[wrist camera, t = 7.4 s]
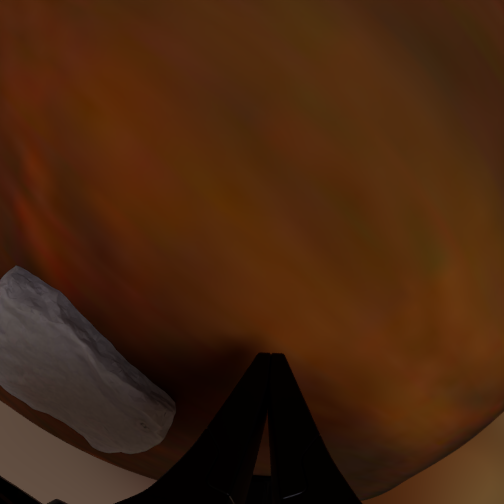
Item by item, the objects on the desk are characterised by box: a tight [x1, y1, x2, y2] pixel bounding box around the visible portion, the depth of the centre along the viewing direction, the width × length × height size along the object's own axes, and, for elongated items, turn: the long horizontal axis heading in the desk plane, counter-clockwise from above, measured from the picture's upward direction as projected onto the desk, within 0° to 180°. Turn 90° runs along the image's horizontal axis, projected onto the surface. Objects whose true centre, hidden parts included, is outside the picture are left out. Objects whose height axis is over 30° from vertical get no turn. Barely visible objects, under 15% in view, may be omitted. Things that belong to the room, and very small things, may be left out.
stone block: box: [0, 266, 176, 454], centre depth 12 cm, size 12×5×10 cm
